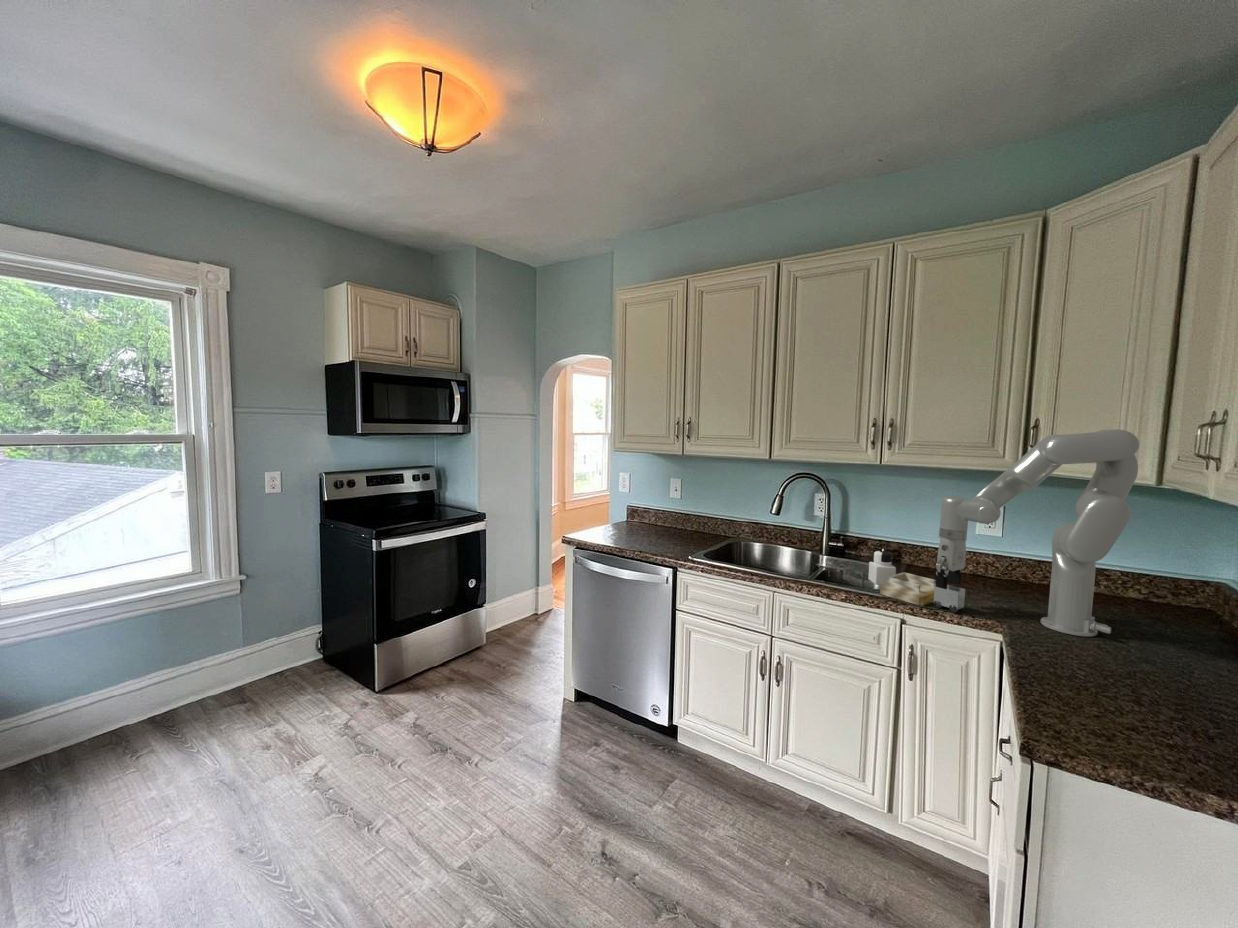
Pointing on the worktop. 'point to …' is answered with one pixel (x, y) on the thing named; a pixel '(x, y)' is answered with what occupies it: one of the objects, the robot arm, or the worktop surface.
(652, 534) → the worktop surface
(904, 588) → the loading dock
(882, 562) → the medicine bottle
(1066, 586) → the robot arm
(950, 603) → the grey block
